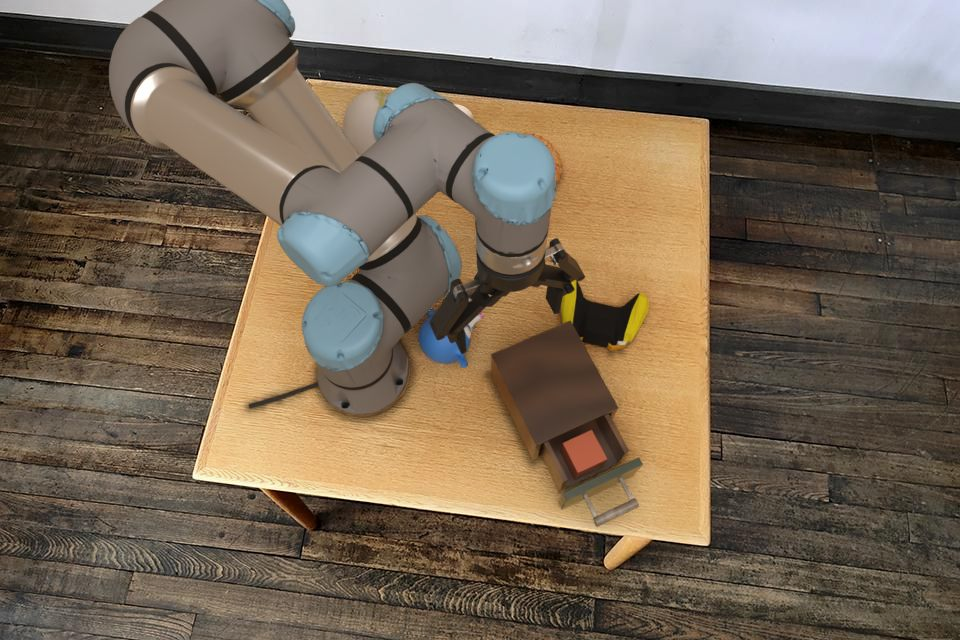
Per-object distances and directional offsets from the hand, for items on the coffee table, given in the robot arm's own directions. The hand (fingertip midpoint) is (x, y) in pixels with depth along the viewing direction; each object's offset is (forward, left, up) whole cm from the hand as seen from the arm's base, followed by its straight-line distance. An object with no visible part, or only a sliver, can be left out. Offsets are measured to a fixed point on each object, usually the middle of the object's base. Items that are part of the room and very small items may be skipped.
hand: (506, 324), depth 100 cm
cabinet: (+6, -5, -27) cm, 28 cm away
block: (+6, -16, -25) cm, 30 cm away
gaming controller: (+20, +4, -27) cm, 34 cm away
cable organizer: (+13, +48, -27) cm, 57 cm away
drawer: (+6, -17, -26) cm, 31 cm away
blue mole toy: (-4, +11, -27) cm, 29 cm away
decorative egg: (-1, +53, -27) cm, 59 cm away
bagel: (+22, +37, -27) cm, 51 cm away
